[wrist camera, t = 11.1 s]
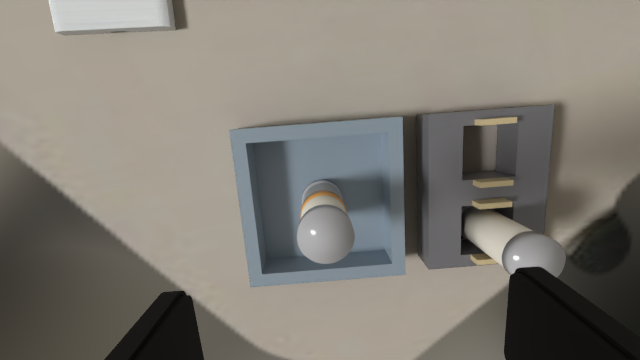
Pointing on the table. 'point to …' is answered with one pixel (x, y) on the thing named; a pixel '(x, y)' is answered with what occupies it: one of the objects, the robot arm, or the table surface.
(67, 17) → the external hard drive
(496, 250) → the fuse
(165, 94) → the table surface
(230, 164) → the table surface
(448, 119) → the fuse holder
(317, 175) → the tray
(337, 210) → the marked fuse
